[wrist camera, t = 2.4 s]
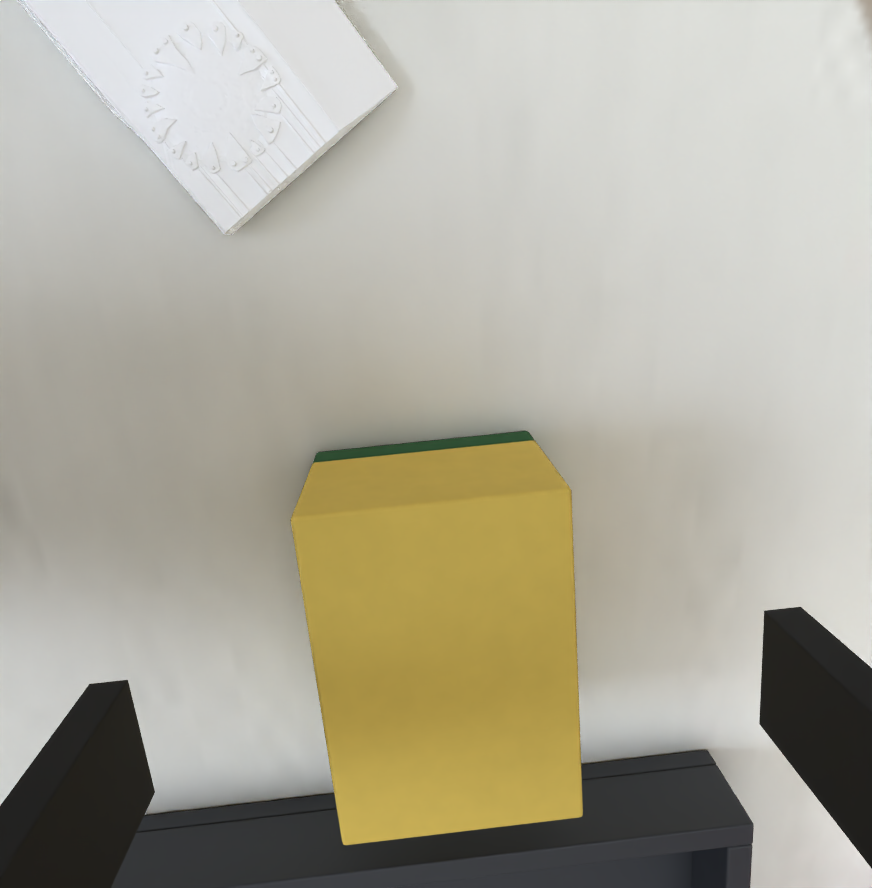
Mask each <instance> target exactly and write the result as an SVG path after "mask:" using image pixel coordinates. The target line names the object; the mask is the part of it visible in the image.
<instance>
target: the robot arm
mask: <svg viewBox="0 0 872 888" xmlns="http://www.w3.org/2000/svg"><path fill="white" fill-rule="evenodd" d="M760 725H761V726H762V728H763V729H764V730H765V732H766V733H767V734H768V735H769V737H770V738H771V739H772V741H773V742H774V743H775V744H776V746H777V747H778V748H779V750H780V751H781V752H782V753H783V755H784V756H785V757H786V759H787V760H788V761H789V762H790V764H791V765H792V766H793V768H794V769H795V770H796V771H797V773H798V774H799V775H800V777H801V778H802V779H803V780H804V782H805V783H806V784H807V786H808V787H809V788H810V789H811V791H812V792H813V793H814V795H815V796H816V797H817V798H818V800H819V801H820V802H821V804H822V805H823V806H824V808H825V809H826V810H827V811H828V813H829V814H830V815H831V817H832V818H833V819H834V820H835V822H836V823H837V824H838V826H839V827H840V828H841V829H842V831H843V832H844V833H845V835H846V836H847V837H848V838H849V840H850V841H851V842H852V844H853V845H854V846H855V847H856V849H857V850H858V851H859V853H860V854H861V855H862V856H863V858H864V859H865V860H866V862H867V863H868V864H869V865H870V867H871V868H872V668H871V667H870V666H868V665H867V664H866V663H865V662H864V661H863V660H861V659H860V658H859V657H858V656H857V655H856V654H855V653H853V652H852V651H851V650H850V649H849V648H848V647H846V646H845V645H844V644H843V643H842V642H841V641H839V640H838V639H837V638H836V637H835V636H834V635H833V634H831V633H830V632H829V631H828V630H827V629H826V628H824V627H823V626H822V625H821V624H820V623H819V622H817V621H816V620H815V619H814V618H813V617H812V616H811V615H809V614H808V613H807V612H806V611H805V610H804V609H802V608H801V607H795V608H786V609H777V610H768V611H764V633H763V656H762V679H761V702H760ZM154 793H155V791H154V787H153V783H152V778H151V774H150V770H149V766H148V762H147V758H146V754H145V749H144V745H143V741H142V737H141V733H140V729H139V725H138V720H137V716H136V712H135V708H134V704H133V700H132V696H131V692H130V687H129V683H128V680H123V681H113V682H104V683H95V684H89V686H88V687H87V688H86V690H85V691H84V692H83V694H82V695H81V696H80V698H79V699H78V701H77V702H76V703H75V705H74V706H73V707H72V709H71V710H70V711H69V713H68V714H67V716H66V717H65V718H64V720H63V721H62V722H61V724H60V725H59V727H58V728H57V729H56V731H55V732H54V733H53V735H52V736H51V737H50V739H49V740H48V742H47V743H46V744H45V746H44V747H43V748H42V750H41V751H40V752H39V754H38V755H37V757H36V758H35V759H34V761H33V762H32V763H31V765H30V766H29V768H28V769H27V770H26V772H25V773H24V774H23V776H22V777H21V778H20V780H19V781H18V783H17V784H16V785H15V787H14V788H13V789H12V791H11V792H10V794H9V795H8V796H7V798H6V799H5V800H4V802H3V803H2V804H1V806H0V888H111V886H112V884H113V882H114V880H115V878H116V876H117V873H118V871H119V869H120V867H121V865H122V863H123V860H124V858H125V856H126V854H127V852H128V850H129V847H130V845H131V843H132V841H133V839H134V836H135V834H136V832H137V830H138V828H139V826H140V823H141V821H142V819H143V817H144V815H145V813H146V810H147V808H148V806H149V804H150V802H151V799H152V797H153V795H154Z"/></svg>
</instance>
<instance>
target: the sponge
mask: <svg viewBox="0 0 872 888" xmlns="http://www.w3.org/2000/svg"><path fill="white" fill-rule="evenodd" d="M291 526H292V532H293V538H294V544H295V551H296V557H297V563H298V569H299V576H300V582H301V588H302V594H303V600H304V607H305V613H306V619H307V625H308V632H309V638H310V644H311V650H312V657H313V663H314V669H315V675H316V682H317V688H318V694H319V700H320V707H321V713H322V719H323V725H324V732H325V738H326V744H327V750H328V757H329V763H330V769H331V775H332V782H333V788H334V794H335V800H336V807H337V813H338V819H339V825H340V832H341V838H342V842H343V844H344V845H352V844H361V843H369V842H377V841H386V840H394V839H403V838H411V837H419V836H428V835H436V834H445V833H453V832H461V831H470V830H478V829H486V828H495V827H503V826H512V825H520V824H528V823H537V822H545V821H554V820H562V819H570V818H579V817H582V815H583V804H582V776H581V748H580V720H579V692H578V664H577V636H576V608H575V580H574V552H573V524H572V496H571V489H570V487H569V486H568V485H567V483H566V482H565V481H564V479H563V478H562V477H561V475H560V474H559V473H558V471H557V470H556V468H555V467H554V466H553V464H552V463H551V462H550V460H549V459H548V458H547V456H546V455H545V454H544V452H543V451H542V449H541V448H540V447H539V445H538V444H537V443H536V441H534V439H533V437H532V436H531V435H530V433H529V432H527V431H522V432H512V433H502V434H492V435H482V436H472V437H463V438H453V439H443V440H433V441H423V442H413V443H403V444H394V445H384V446H374V447H364V448H354V449H344V450H334V451H325V452H318V453H317V454H316V456H315V459H314V461H313V464H312V466H311V469H310V471H309V474H308V476H307V479H306V481H305V484H304V486H303V489H302V492H301V494H300V497H299V499H298V502H297V504H296V507H295V509H294V512H293V514H292V517H291Z"/></svg>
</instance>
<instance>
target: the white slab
mask: <svg viewBox="0 0 872 888" xmlns="http://www.w3.org/2000/svg"><path fill="white" fill-rule="evenodd" d="M17 1H18V2H19V3H20V4H21V6H22V7H23V8H24V9H25V10H26V12H27V13H28V14H29V15H30V16H31V17H32V19H33V20H34V21H35V22H36V23H37V25H38V26H39V27H40V28H41V29H42V31H43V32H44V33H45V34H46V35H47V37H48V38H49V39H50V40H51V41H52V42H53V44H54V45H55V46H56V47H57V48H58V50H59V51H60V52H61V53H62V54H63V56H64V57H65V58H66V59H67V60H68V61H69V63H70V64H71V65H72V66H73V67H74V69H75V70H76V71H77V72H78V73H79V74H80V76H81V77H82V78H83V79H84V80H85V82H86V83H87V84H88V85H89V86H90V87H91V89H92V90H93V91H94V92H95V93H96V94H97V96H98V97H99V98H100V99H101V100H102V101H103V103H104V104H105V105H106V106H107V107H108V108H109V109H110V111H111V112H112V113H113V114H114V115H115V116H116V117H117V118H118V119H119V118H120V119H121V121H122V122H123V123H124V124H125V125H126V126H127V127H128V128H129V127H131V129H132V130H133V131H134V132H135V133H136V134H137V135H138V136H139V137H141V138H142V140H143V141H144V142H145V143H146V144H147V145H148V147H149V148H150V149H151V150H152V151H153V152H154V154H155V155H156V156H157V157H158V158H159V159H160V161H161V162H162V163H163V164H164V165H165V166H166V168H167V169H168V170H169V171H170V172H171V173H172V174H173V176H174V177H175V178H176V179H177V180H178V181H179V183H180V184H181V185H182V186H183V187H184V188H185V190H186V191H187V192H188V193H189V194H190V195H191V197H192V198H193V199H194V200H195V201H196V202H197V204H198V205H199V206H200V207H201V208H202V209H203V210H204V212H205V213H206V214H207V215H208V216H209V217H210V219H211V220H212V221H213V222H214V223H215V224H216V226H217V227H218V228H219V229H220V230H221V231H222V233H223V234H226V235H232V234H234V233H235V232H236V231H237V230H238V229H239V228H240V227H241V226H243V225H244V224H245V223H246V222H247V221H248V220H249V219H250V218H252V217H253V216H254V215H255V214H256V213H257V212H258V211H259V210H261V209H262V208H263V207H264V206H265V205H266V204H267V203H269V202H270V201H271V200H272V199H273V198H274V197H275V196H276V195H278V194H279V193H280V192H281V191H282V190H283V189H284V188H286V187H287V186H288V185H289V184H290V183H291V182H292V181H294V180H295V179H296V178H297V177H298V176H299V175H300V174H301V173H303V172H304V171H305V170H306V169H307V168H308V167H309V166H310V165H312V164H313V163H314V162H315V161H316V160H317V159H318V158H319V157H321V156H322V155H323V154H324V153H325V152H326V151H328V150H329V149H330V148H331V147H332V146H333V145H334V144H335V143H337V142H338V141H339V140H340V139H341V138H342V137H343V136H344V135H346V134H347V133H348V132H349V131H350V130H351V129H352V128H353V127H355V126H356V125H357V124H358V123H359V122H360V121H361V120H362V119H364V118H365V117H366V116H367V115H368V114H369V113H370V112H372V111H373V110H374V109H375V108H376V107H377V106H378V105H379V104H381V103H382V102H383V101H384V100H385V99H386V98H387V97H388V96H390V95H391V94H392V93H393V92H394V91H395V90H396V89H397V88H398V86H397V85H396V83H395V82H394V81H393V79H392V78H391V76H390V75H389V74H388V72H387V71H386V70H385V68H384V67H383V66H382V64H381V63H380V61H379V60H378V59H377V57H376V56H375V55H374V53H373V52H372V51H371V49H370V48H369V46H368V45H367V44H366V42H365V41H364V40H363V38H362V37H361V36H360V34H359V33H358V32H357V30H356V29H355V27H354V26H353V25H352V23H351V22H350V21H349V19H348V18H347V17H346V15H345V14H344V12H343V11H342V10H341V8H340V7H339V6H338V4H337V3H336V2H335V0H23V1H24V2H23V1H22V0H20V1H21V2H22V3H21V2H20V1H19V0H17ZM24 3H25V4H26V5H27V6H28V7H29V8H30V10H31V11H32V12H33V13H34V14H35V15H36V17H37V18H38V19H39V20H40V21H41V22H42V24H43V25H44V26H45V27H46V28H47V29H48V31H49V32H50V33H51V34H52V35H53V37H54V38H55V39H56V40H57V41H58V43H59V44H60V45H61V46H62V47H63V48H64V50H65V51H66V52H67V53H68V54H69V56H70V57H71V58H72V59H73V60H74V62H75V63H76V64H77V65H78V66H79V68H80V69H81V70H82V71H83V72H84V73H85V75H86V76H87V77H88V78H89V79H90V81H91V82H92V83H93V84H94V85H95V87H96V88H97V89H98V90H99V91H100V92H101V94H102V95H103V96H104V97H105V98H106V100H107V101H108V102H109V103H110V104H111V105H112V107H113V108H114V109H115V110H116V111H117V112H118V114H119V115H120V116H119V115H118V114H117V113H116V112H115V110H114V109H113V108H112V107H111V106H110V105H109V103H108V102H107V101H106V100H105V99H104V98H103V96H102V95H101V94H100V93H99V92H98V91H97V89H96V88H95V87H94V86H93V85H92V83H91V82H90V81H89V80H88V79H87V78H86V76H85V75H84V74H83V73H82V72H81V70H80V69H79V68H78V67H77V66H76V64H75V63H74V62H73V61H72V60H71V59H70V57H69V56H68V55H67V54H66V53H65V51H64V50H63V49H62V48H61V47H60V45H59V44H58V43H57V42H56V41H55V39H54V38H53V37H52V36H51V35H50V34H49V32H48V31H47V30H46V29H45V28H44V26H43V25H42V24H41V23H40V22H39V20H38V19H37V18H36V17H35V16H34V14H33V13H32V12H31V11H30V10H29V8H28V7H27V6H26V5H25V4H24ZM23 5H24V6H25V7H26V8H27V9H26V8H25V7H24V6H23ZM28 11H29V12H30V13H31V14H32V15H31V14H30V13H29V12H28ZM34 18H35V19H36V20H37V21H36V20H35V19H34ZM39 24H40V25H41V26H42V27H41V26H40V25H39ZM44 30H45V31H46V32H47V33H48V34H47V33H46V32H45V31H44ZM49 36H50V37H51V38H52V39H53V40H52V39H51V38H50V37H49ZM54 42H55V43H56V44H57V45H58V46H57V45H56V44H55V43H54ZM60 49H61V50H62V51H63V52H62V51H61V50H60ZM65 55H66V56H67V57H68V58H69V59H68V58H67V57H66V56H65ZM70 61H71V62H72V63H73V64H74V65H73V64H72V63H71V62H70ZM76 68H77V69H78V70H79V71H78V70H77V69H76ZM81 74H82V75H83V76H84V77H85V78H84V77H83V76H82V75H81ZM87 81H88V82H89V83H90V84H89V83H88V82H87ZM93 88H94V89H95V90H96V91H95V90H94V89H93ZM99 95H100V96H101V97H102V98H101V97H100V96H99ZM105 102H106V103H107V104H106V103H105ZM112 110H113V111H114V112H113V111H112ZM121 117H122V118H123V119H124V121H125V122H126V123H127V124H128V125H129V126H128V125H127V124H126V123H125V122H124V121H123V120H122V118H121Z"/></svg>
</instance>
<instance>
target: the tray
mask: <svg viewBox="0 0 872 888" xmlns="http://www.w3.org/2000/svg"><path fill="white" fill-rule="evenodd" d="M581 776H582V804H583V815H582V817H579V818H570V819H562V820H554V821H545V822H537V823H528V824H520V825H512V826H503V827H495V828H486V829H478V830H470V831H461V832H453V833H445V834H436V835H428V836H419V837H411V838H403V839H394V840H386V841H377V842H369V843H361V844H352V845H344V844H343V842H342V838H341V832H340V825H339V819H338V813H337V807H336V800H335V794H328V795H319V796H311V797H302V798H293V799H285V800H276V801H268V802H259V803H251V804H242V805H233V806H225V807H216V808H208V809H199V810H191V811H182V812H174V813H165V814H156V815H148V816H144V817H143V819H142V821H141V823H140V826H139V828H138V830H137V832H136V834H135V836H134V839H133V841H132V843H131V845H130V847H129V850H128V852H127V854H126V856H125V858H124V860H123V863H122V865H121V867H120V869H119V871H118V873H117V876H116V878H115V880H114V882H113V884H112V886H111V888H750V878H751V858H752V843H753V822H752V821H751V819H750V818H749V816H748V814H747V813H746V811H745V810H744V808H743V806H742V805H741V803H740V802H739V800H738V798H737V797H736V795H735V794H734V792H733V790H732V789H731V787H730V786H729V784H728V782H727V781H726V779H725V778H724V776H723V774H722V773H721V771H720V770H719V768H718V766H717V765H716V763H715V761H714V760H713V758H712V756H711V755H710V753H709V752H708V751H707V750H704V751H696V752H687V753H678V754H670V755H661V756H653V757H644V758H636V759H627V760H619V761H610V762H601V763H593V764H584V765H581Z"/></svg>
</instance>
